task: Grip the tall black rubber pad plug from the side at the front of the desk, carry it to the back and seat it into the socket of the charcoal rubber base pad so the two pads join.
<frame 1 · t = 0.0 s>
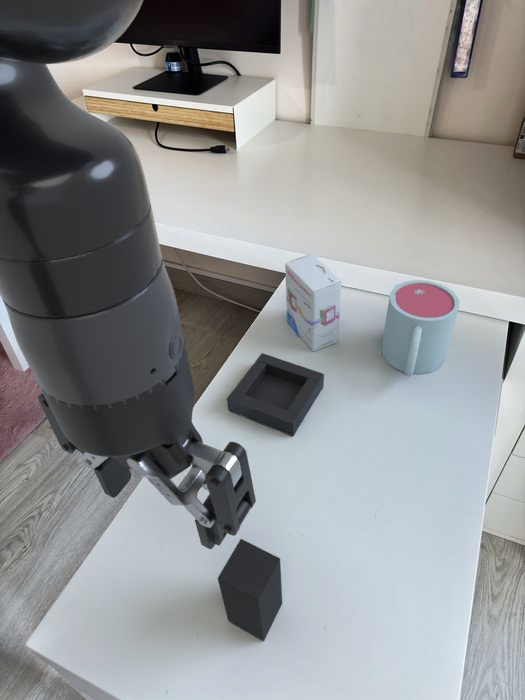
hand: (165, 510, 36), 20 cm above the table, tool pointing down, fingers open, 8 cm apart
base pad: (276, 398, 71), on the table
ink box: (311, 332, 81), on the table
pad plug: (255, 612, 50), on the table
mug: (410, 363, 75), on the table
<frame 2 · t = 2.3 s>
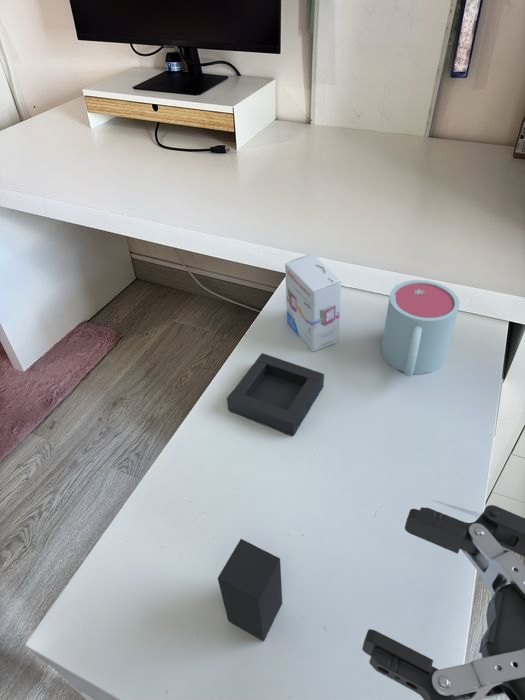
hand: (387, 574, 32), 20 cm above the table, tool horizontal, fingers open, 8 cm apart
nothing on the table moved.
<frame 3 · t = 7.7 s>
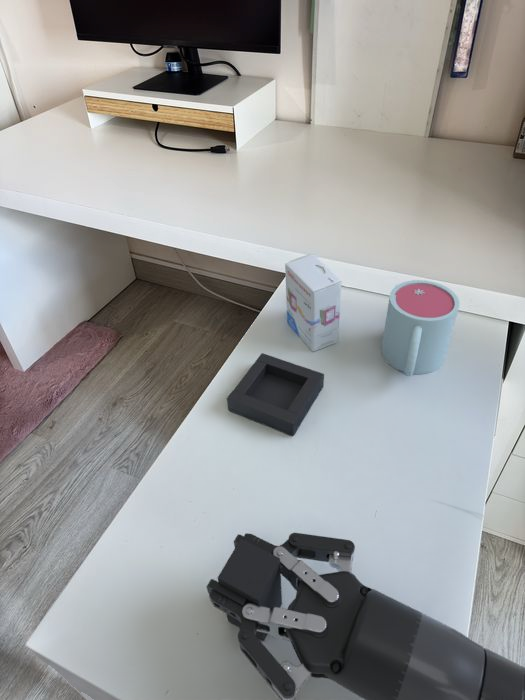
hand: (223, 564, 46), 8 cm above the table, tool horizontal, fingers closed on pad plug, 4 cm apart
pad plug: (255, 612, 50), on the table, touching gripper
everything else where it was.
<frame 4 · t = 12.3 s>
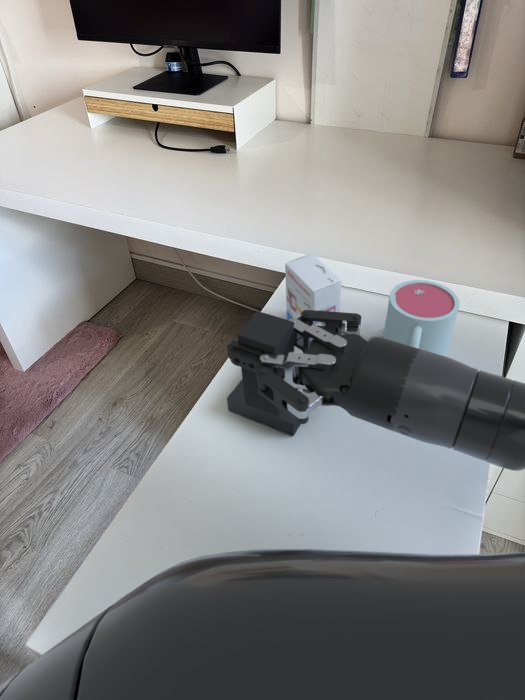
hand: (242, 335, 50), 20 cm above the table, tool horizontal, fingers closed on pad plug, 4 cm apart
pad plug: (270, 398, 55), point 12 cm above the table, touching gripper
everything else where it was.
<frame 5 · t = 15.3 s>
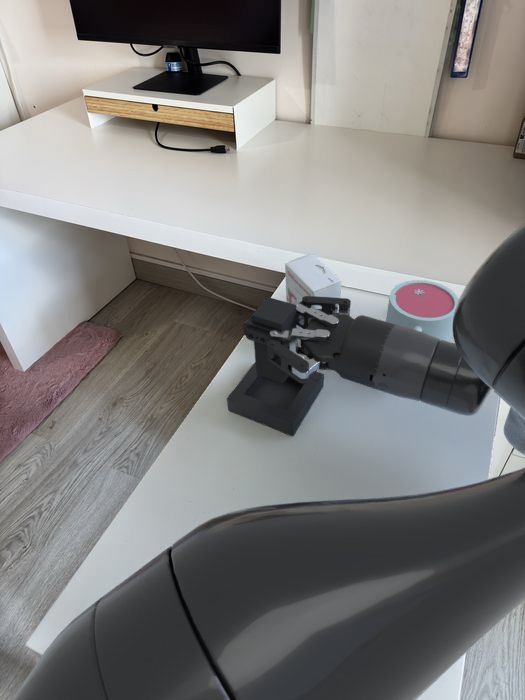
hand: (254, 316, 62), 14 cm above the table, tool horizontal, fingers closed on pad plug, 4 cm apart
pad plug: (276, 369, 67), point 6 cm above the table, touching gripper
everything else where it was.
when the fingers open (9 cm above the table, at t = 17.2 s): pad plug stays where it is, resting on base pad.
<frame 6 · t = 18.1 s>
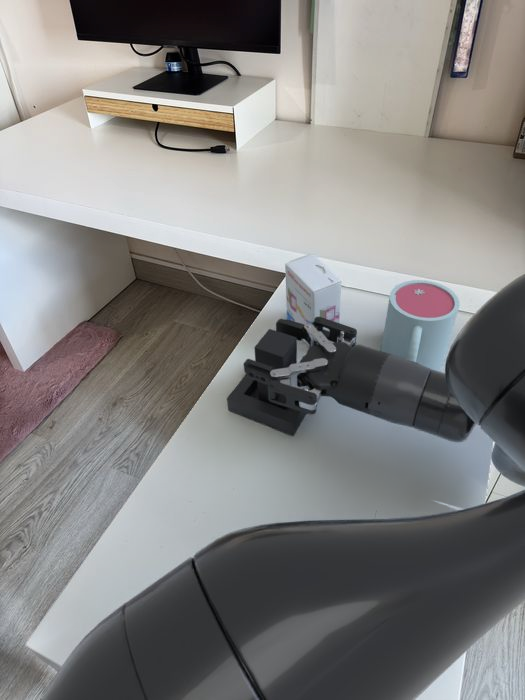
hand: (261, 345, 65), 9 cm above the table, tool horizontal, fingers open, 8 cm apart
pad plug: (277, 395, 70), point 1 cm above the table, touching base pad
everything else where it was.
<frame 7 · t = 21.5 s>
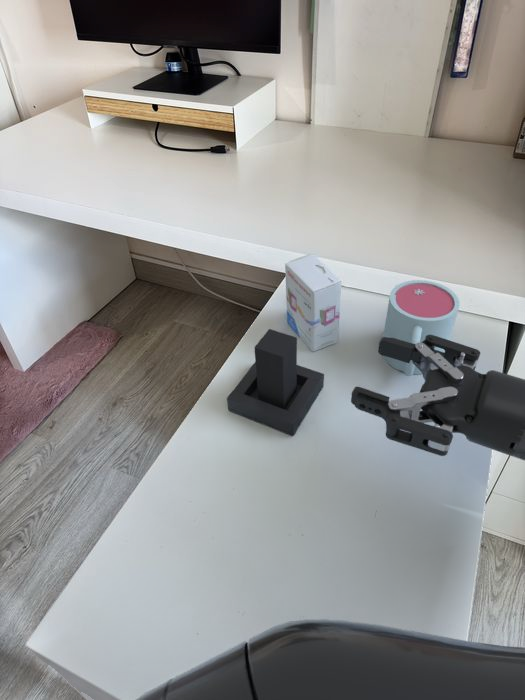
hand: (366, 368, 55), 14 cm above the table, tool horizontal, fingers open, 8 cm apart
nothing on the table moved.
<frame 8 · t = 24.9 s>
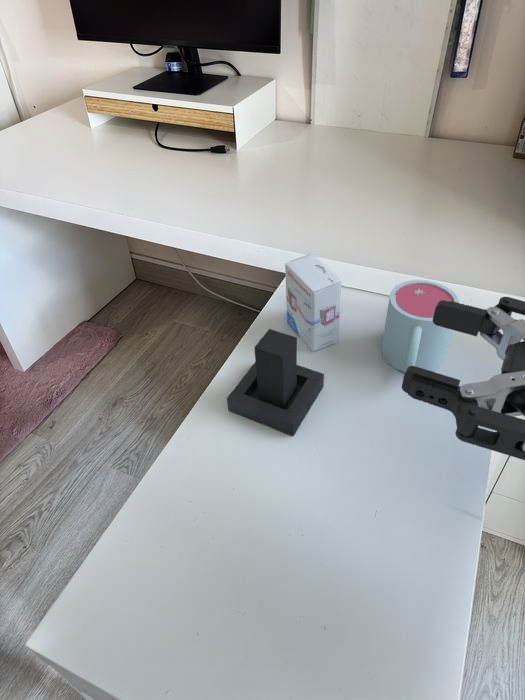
hand: (420, 342, 40), 26 cm above the table, tool horizontal, fingers open, 8 cm apart
nothing on the table moved.
at the end: pad plug 0.1 cm off-centre in the base pad, point 0.6 cm above the base pad's base; pad plug tilted 0°; the gripper is holding nothing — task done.
